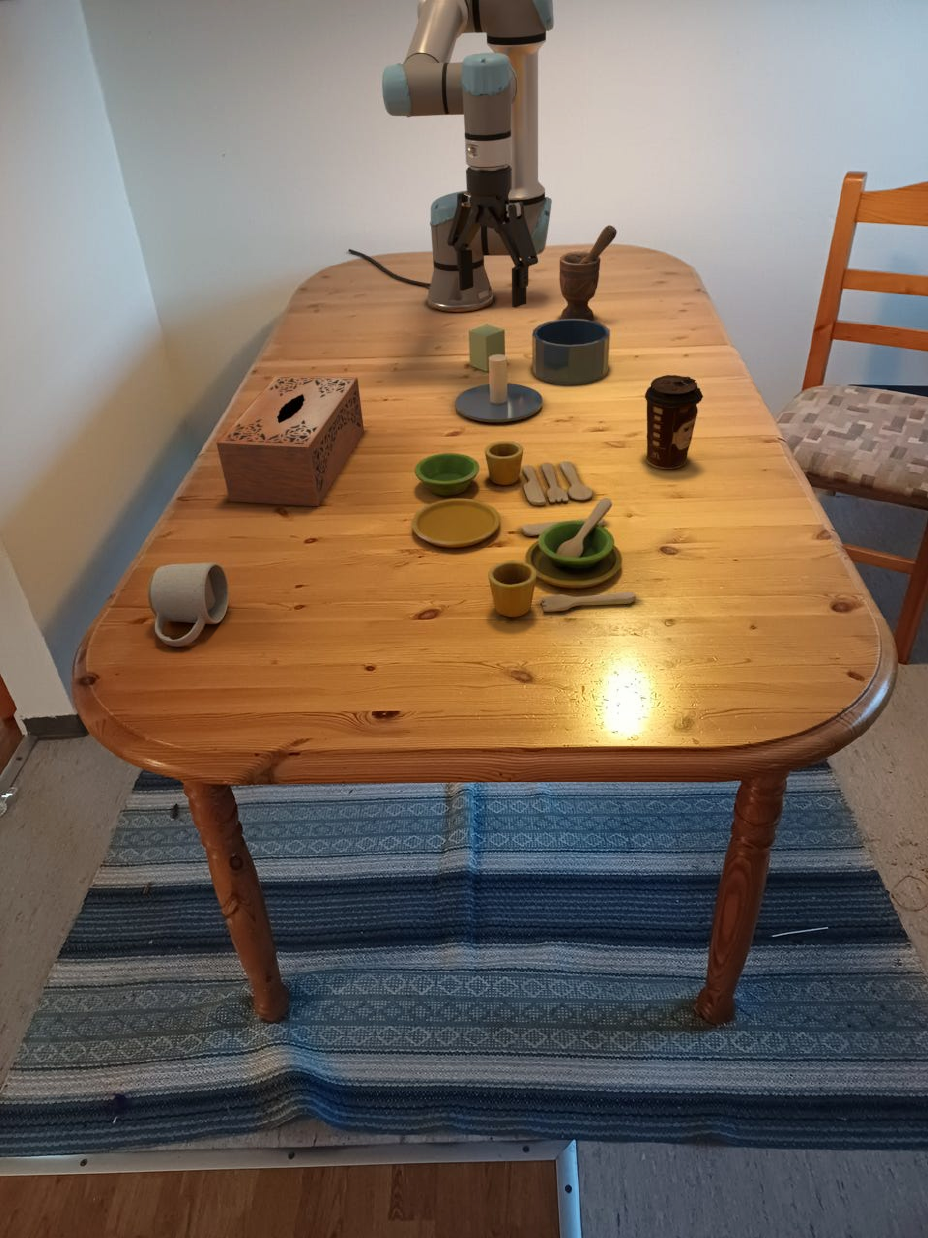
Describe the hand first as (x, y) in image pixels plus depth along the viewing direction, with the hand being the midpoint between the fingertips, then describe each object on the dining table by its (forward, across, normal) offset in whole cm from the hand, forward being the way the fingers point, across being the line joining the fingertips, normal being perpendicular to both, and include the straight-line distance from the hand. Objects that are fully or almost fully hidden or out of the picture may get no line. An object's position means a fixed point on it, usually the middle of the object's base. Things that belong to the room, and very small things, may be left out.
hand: (492, 296), depth 159 cm
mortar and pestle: (+18, -12, +39) cm, 44 cm away
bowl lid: (+16, +7, -5) cm, 18 cm away
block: (+17, -9, +7) cm, 21 cm away
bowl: (+17, +5, +16) cm, 24 cm away
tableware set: (+16, +40, -34) cm, 55 cm away
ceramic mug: (+16, +25, -77) cm, 83 cm away
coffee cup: (+17, +42, -2) cm, 45 cm away
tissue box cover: (+17, -1, -43) cm, 47 cm away
